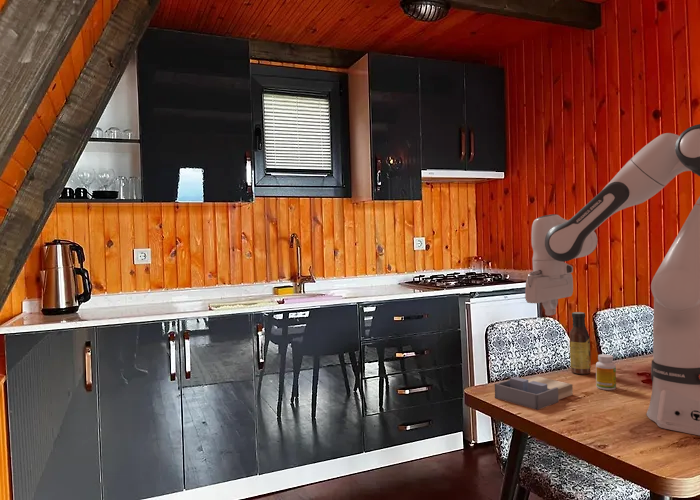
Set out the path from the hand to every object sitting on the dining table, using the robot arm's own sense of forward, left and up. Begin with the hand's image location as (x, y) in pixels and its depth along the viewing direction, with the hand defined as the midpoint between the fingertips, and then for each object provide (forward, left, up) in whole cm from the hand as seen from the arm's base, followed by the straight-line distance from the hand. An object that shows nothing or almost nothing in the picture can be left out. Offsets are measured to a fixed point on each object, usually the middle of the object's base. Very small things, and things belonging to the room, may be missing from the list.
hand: (550, 314), depth 161 cm
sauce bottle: (+4, -22, -22) cm, 31 cm away
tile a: (-4, +12, -20) cm, 23 cm away
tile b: (+2, +13, -20) cm, 23 cm away
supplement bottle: (-10, -12, -22) cm, 27 cm away
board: (-1, +6, -22) cm, 23 cm away
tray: (-1, +15, -22) cm, 27 cm away
